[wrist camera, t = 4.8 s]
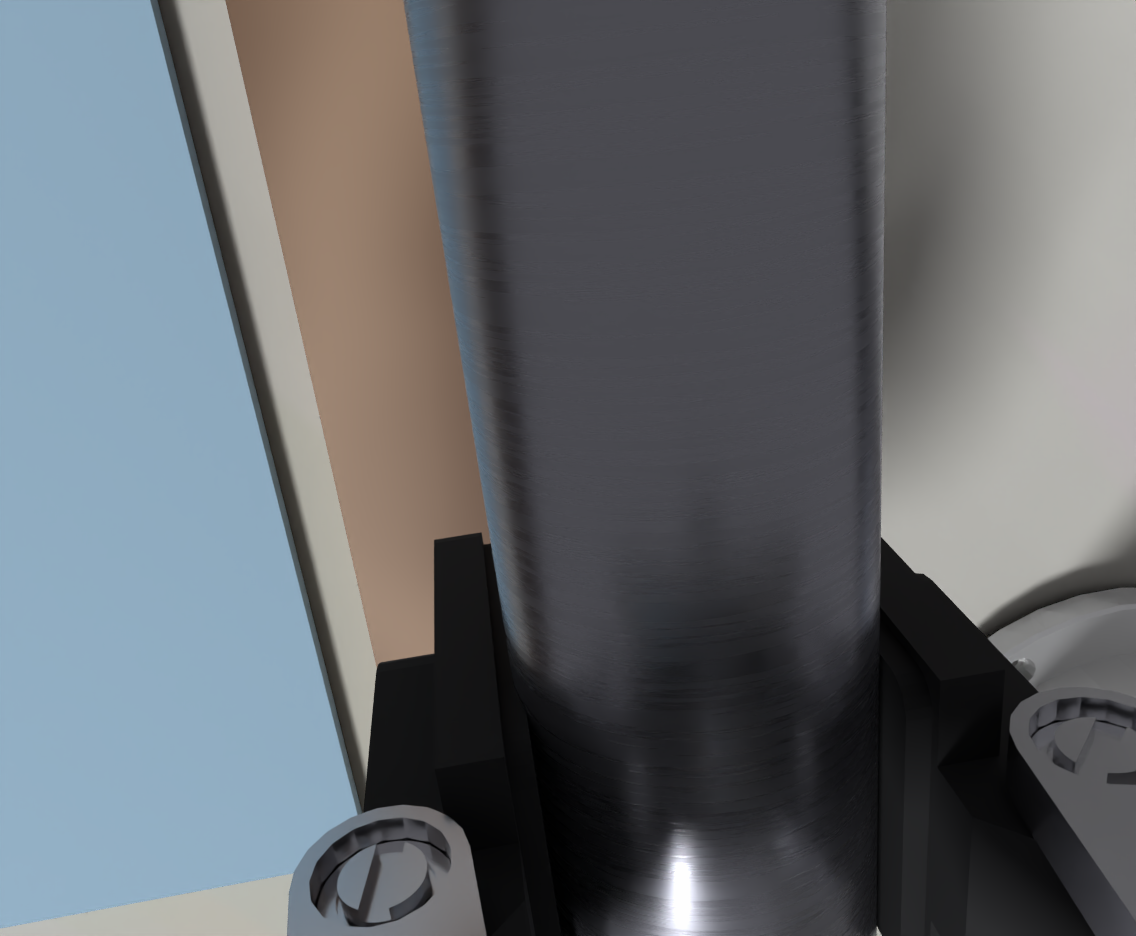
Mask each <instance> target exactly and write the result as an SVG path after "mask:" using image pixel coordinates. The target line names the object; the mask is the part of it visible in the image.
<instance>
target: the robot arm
mask: <svg viewBox="0 0 1136 936" xmlns="http://www.w3.org/2000/svg"><path fill="white" fill-rule="evenodd" d="M877 927H878V929H879V931H880V932H881V934H882V936H1136V588H1116V589H1111V590H1105V591H1099V592H1094V593H1088V594H1083V595H1078V596H1076V597H1073V598H1070V599H1067V600H1064V601H1061V602H1058V603H1055V604H1052V605H1050V606H1047V607H1044V608H1041V609H1038V610H1036V611H1035V612H1033V613H1031V614H1029V615H1027V616H1025V617H1023V618H1021V619H1019V620H1017V621H1015V622H1013V623H1011V624H1010V625H1008V626H1006V627H1004V628H1002V629H1000V630H999V631H997V632H996V633H994V634H993V635H992V636H990V637H989V638H987V637H986V636H985V635H984V634H983V633H982V632H981V631H980V630H979V629H978V628H977V627H976V626H975V625H974V624H973V623H972V622H971V621H970V620H969V619H968V618H967V617H966V615H965V614H964V613H963V612H962V611H961V610H960V609H959V608H958V607H957V606H956V605H955V604H954V603H953V602H952V601H951V600H950V599H949V598H948V597H947V596H946V595H945V594H944V592H943V591H942V590H941V589H940V588H939V587H938V586H937V585H936V584H935V583H934V582H933V581H932V580H931V579H930V578H928V577H927V576H925V575H924V574H917V573H914V572H913V571H912V570H911V568H910V567H909V566H908V565H907V564H906V563H905V562H904V561H903V560H902V559H901V558H900V557H899V556H898V555H897V553H896V552H895V551H894V550H893V549H892V548H891V547H890V546H889V545H888V544H887V543H886V542H885V541H884V540H883V539H882V537H881V560H880V653H879V745H878V838H877ZM287 936H562V935H561V929H560V923H559V916H558V910H557V903H556V897H555V891H554V884H553V878H552V872H551V865H550V859H549V853H548V846H547V840H546V834H545V827H544V821H543V815H542V808H541V802H540V796H539V789H538V783H537V776H536V770H535V764H534V757H533V751H532V745H531V738H530V732H529V726H528V719H527V713H526V710H525V709H524V708H523V706H522V705H521V703H520V701H519V698H518V696H517V694H516V692H515V688H514V683H513V678H512V672H511V666H510V660H509V653H508V647H507V641H506V635H505V629H504V622H503V616H502V610H501V604H500V598H499V591H498V585H497V579H496V573H495V567H494V560H493V554H492V548H491V544H484V542H483V537H482V532H480V533H474V534H467V535H461V536H455V537H448V538H442V539H436V540H434V654H428V655H422V656H416V657H410V658H404V659H398V660H392V661H386V662H380V663H379V664H378V666H377V671H376V681H375V692H374V703H373V714H372V725H371V736H370V746H369V757H368V768H367V779H366V790H365V801H364V812H363V813H362V814H359V815H356V816H353V817H351V818H349V819H347V820H346V821H344V822H342V823H341V824H339V825H337V826H336V827H334V828H332V829H331V830H329V831H327V832H326V833H325V834H324V835H323V836H322V837H321V838H320V839H319V840H318V841H316V842H315V843H314V844H313V845H312V846H311V847H310V848H309V849H308V850H307V852H306V853H305V855H304V856H303V858H302V859H301V861H300V863H299V864H298V866H297V867H296V869H295V871H294V875H293V879H292V883H291V887H290V891H289V905H288V925H287Z"/></svg>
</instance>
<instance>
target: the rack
mask: <svg viewBox="0 0 1136 936" xmlns="http://www.w3.org/2000/svg"><path fill="white" fill-rule="evenodd" d="M225 1H226V5H227V9H228V14H229V18H230V23H231V27H232V31H233V36H234V40H235V45H236V49H237V53H238V58H239V62H240V67H241V71H242V75H243V80H244V84H245V89H246V93H247V97H248V102H249V106H250V111H251V115H252V120H253V124H254V128H255V133H256V137H257V142H258V146H259V150H260V155H261V159H262V164H263V168H264V172H265V177H266V181H267V186H268V190H269V194H270V199H271V203H272V208H273V212H274V216H275V221H276V225H277V230H278V234H279V239H280V243H281V247H282V252H283V256H284V261H285V265H286V269H287V274H288V278H289V283H290V287H291V291H292V296H293V300H294V305H295V309H296V313H297V318H298V322H299V327H300V331H301V335H302V340H303V344H304V349H305V353H306V358H307V362H308V366H309V371H310V375H311V380H312V384H313V388H314V393H315V397H316V402H317V406H318V410H319V415H320V419H321V424H322V428H323V432H324V437H325V441H326V446H327V450H328V454H329V459H330V463H331V468H332V472H333V477H334V481H335V485H336V490H337V494H338V499H339V503H340V507H341V512H342V516H343V521H344V525H345V529H346V534H347V538H348V543H349V547H350V551H351V556H352V560H353V565H354V569H355V573H356V578H357V582H358V587H359V591H360V596H361V600H362V604H363V609H364V613H365V618H366V622H367V626H368V631H369V635H370V640H371V644H372V648H373V653H374V657H375V662H376V666H378V664H379V663H380V662H386V661H392V660H398V659H404V658H410V657H416V656H422V655H428V654H434V540H436V539H442V538H448V537H455V536H461V535H467V534H474V533H480V532H482V537H483V542H484V544H491V542H490V536H489V530H488V523H487V517H486V511H485V505H484V499H483V492H482V486H481V480H480V474H479V468H478V461H477V455H476V449H475V443H474V437H473V430H472V424H471V418H470V412H469V406H468V399H467V393H466V387H465V381H464V375H463V368H462V362H461V356H460V350H459V344H458V338H457V331H456V325H455V319H454V313H453V307H452V300H451V294H450V288H449V282H448V276H447V269H446V263H445V257H444V251H443V245H442V238H441V232H440V226H439V220H438V214H437V207H436V201H435V195H434V189H433V183H432V177H431V170H430V164H429V158H428V152H427V146H426V139H425V133H424V127H423V121H422V115H421V108H420V102H419V96H418V90H417V84H416V77H415V71H414V65H413V59H412V53H411V46H410V40H409V34H408V28H407V22H406V15H405V9H404V3H403V0H225Z"/></svg>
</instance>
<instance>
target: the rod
mask: <svg viewBox="0 0 1136 936" xmlns="http://www.w3.org/2000/svg"><path fill="white" fill-rule="evenodd" d="M403 3H404V9H405V15H406V22H407V28H408V34H409V40H410V46H411V53H412V59H413V65H414V71H415V77H416V84H417V90H418V96H419V102H420V108H421V115H422V121H423V127H424V133H425V139H426V146H427V152H428V158H429V164H430V170H431V177H432V183H433V189H434V195H435V201H436V207H437V214H438V220H439V226H440V232H441V238H442V245H443V251H444V257H445V263H446V269H447V276H448V282H449V288H450V294H451V300H452V307H453V313H454V319H455V325H456V331H457V338H458V344H459V350H460V356H461V362H462V368H463V375H464V381H465V387H466V393H467V399H468V406H469V412H470V418H471V424H472V430H473V437H474V443H475V449H476V455H477V461H478V468H479V474H480V480H481V486H482V492H483V499H484V505H485V511H486V517H487V523H488V530H489V536H490V542H491V548H492V554H493V560H494V567H495V573H496V579H497V585H498V591H499V598H500V604H501V610H502V616H503V622H504V629H505V635H506V641H507V647H508V653H509V660H510V666H511V672H512V678H513V683H514V688H515V692H516V694H517V696H518V698H519V701H520V703H521V705H522V706H523V708H524V709H525V710H526V713H527V719H528V726H529V732H530V738H531V745H532V751H533V757H534V764H535V770H536V776H537V783H538V789H539V796H540V802H541V808H542V815H543V821H544V827H545V834H546V840H547V846H548V853H549V859H550V865H551V872H552V878H553V884H554V891H555V897H556V903H557V910H558V916H559V923H560V929H561V935H562V936H876V931H877V838H878V745H879V653H880V560H881V468H882V375H883V283H884V190H885V97H886V5H887V0H403Z"/></svg>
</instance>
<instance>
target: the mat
mask: <svg viewBox="0 0 1136 936" xmlns="http://www.w3.org/2000/svg"><path fill="white" fill-rule="evenodd" d="M359 814H362V810H361V806H360V802H359V798H358V794H357V790H356V786H355V782H354V779H353V775H352V771H351V767H350V763H349V759H348V755H347V751H346V747H345V743H344V739H343V735H342V731H341V727H340V723H339V719H338V715H337V711H336V707H335V703H334V699H333V695H332V691H331V687H330V683H329V679H328V675H327V671H326V667H325V663H324V659H323V655H322V651H321V647H320V644H319V640H318V636H317V632H316V628H315V624H314V620H313V616H312V612H311V608H310V604H309V600H308V596H307V592H306V588H305V584H304V580H303V576H302V572H301V568H300V564H299V560H298V556H297V552H296V548H295V544H294V540H293V536H292V532H291V528H290V524H289V520H288V516H287V512H286V509H285V505H284V501H283V497H282V493H281V489H280V485H279V481H278V477H277V473H276V469H275V465H274V461H273V457H272V453H271V449H270V445H269V441H268V437H267V433H266V429H265V425H264V421H263V417H262V413H261V409H260V405H259V401H258V397H257V393H256V389H255V385H254V381H253V377H252V374H251V370H250V366H249V362H248V358H247V354H246V350H245V346H244V342H243V338H242V334H241V330H240V326H239V322H238V318H237V314H236V310H235V306H234V302H233V298H232V294H231V290H230V286H229V282H228V278H227V274H226V270H225V266H224V262H223V258H222V254H221V250H220V246H219V242H218V239H217V235H216V231H215V227H214V223H213V219H212V215H211V211H210V207H209V203H208V199H207V195H206V191H205V187H204V183H203V179H202V175H201V171H200V167H199V163H198V159H197V155H196V151H195V147H194V143H193V139H192V135H191V131H190V127H189V123H188V119H187V115H186V111H185V107H184V103H183V100H182V96H181V92H180V88H179V84H178V80H177V76H176V72H175V68H174V64H173V60H172V56H171V52H170V48H169V44H168V40H167V36H166V32H165V28H164V24H163V20H162V16H161V12H160V8H159V4H158V0H0V928H5V927H10V926H16V925H21V924H26V923H31V922H37V921H42V920H47V919H53V918H58V917H63V916H69V915H74V914H79V913H85V912H90V911H95V910H100V909H106V908H111V907H116V906H122V905H127V904H132V903H138V902H143V901H148V900H154V899H159V898H164V897H169V896H175V895H180V894H185V893H191V892H196V891H201V890H207V889H212V888H217V887H223V886H228V885H233V884H238V883H244V882H249V881H254V880H260V879H265V878H270V877H276V876H281V875H286V874H292V873H294V871H295V869H296V867H297V866H298V864H299V863H300V861H301V859H302V858H303V856H304V855H305V853H306V852H307V850H308V849H309V848H310V847H311V846H312V845H313V844H314V843H315V842H316V841H318V840H319V839H320V838H321V837H322V836H323V835H324V834H325V833H326V832H327V831H329V830H331V829H332V828H334V827H336V826H337V825H339V824H341V823H342V822H344V821H346V820H347V819H349V818H351V817H353V816H356V815H359Z"/></svg>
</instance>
